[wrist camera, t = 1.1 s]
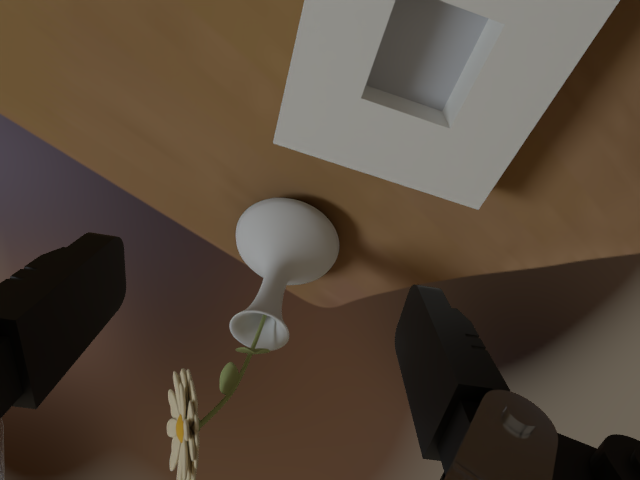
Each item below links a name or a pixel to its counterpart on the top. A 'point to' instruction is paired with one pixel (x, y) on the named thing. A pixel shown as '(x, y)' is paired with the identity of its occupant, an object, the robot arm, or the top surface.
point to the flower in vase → (257, 305)
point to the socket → (430, 85)
